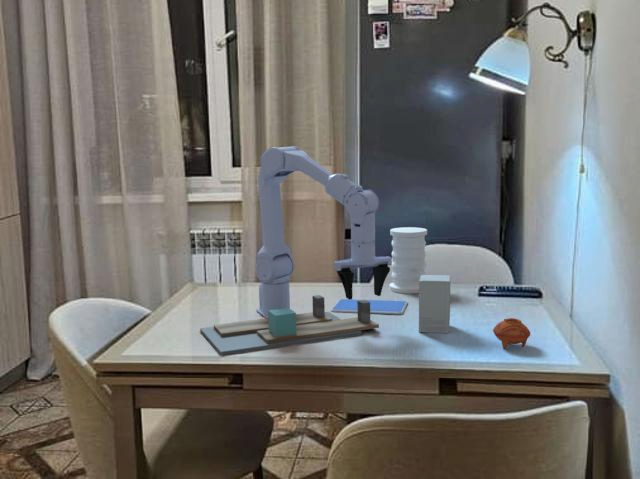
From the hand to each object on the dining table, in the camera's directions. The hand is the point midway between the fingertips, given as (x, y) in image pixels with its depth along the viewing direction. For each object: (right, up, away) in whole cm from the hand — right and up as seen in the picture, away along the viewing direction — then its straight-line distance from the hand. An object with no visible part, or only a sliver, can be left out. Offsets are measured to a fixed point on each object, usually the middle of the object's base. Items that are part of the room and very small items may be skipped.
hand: (363, 296), depth 169 cm
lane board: (-20, -9, -2) cm, 22 cm away
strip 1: (-22, -8, +2) cm, 23 cm away
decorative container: (+16, -1, +41) cm, 44 cm away
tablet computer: (+3, -5, +21) cm, 21 cm away
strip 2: (-11, -9, -3) cm, 14 cm away
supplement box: (+17, -8, 0) cm, 19 cm away
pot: (+32, -10, -15) cm, 36 cm away
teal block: (-19, -8, -7) cm, 22 cm away
